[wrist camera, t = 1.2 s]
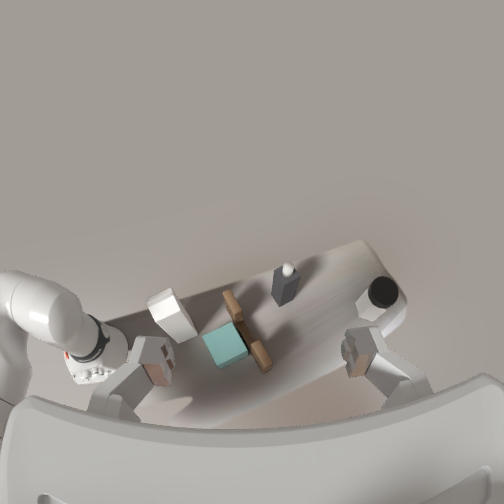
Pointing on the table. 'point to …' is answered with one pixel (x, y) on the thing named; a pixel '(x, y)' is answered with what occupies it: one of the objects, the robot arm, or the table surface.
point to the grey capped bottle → (284, 283)
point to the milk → (171, 315)
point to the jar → (377, 298)
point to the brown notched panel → (247, 332)
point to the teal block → (225, 345)
